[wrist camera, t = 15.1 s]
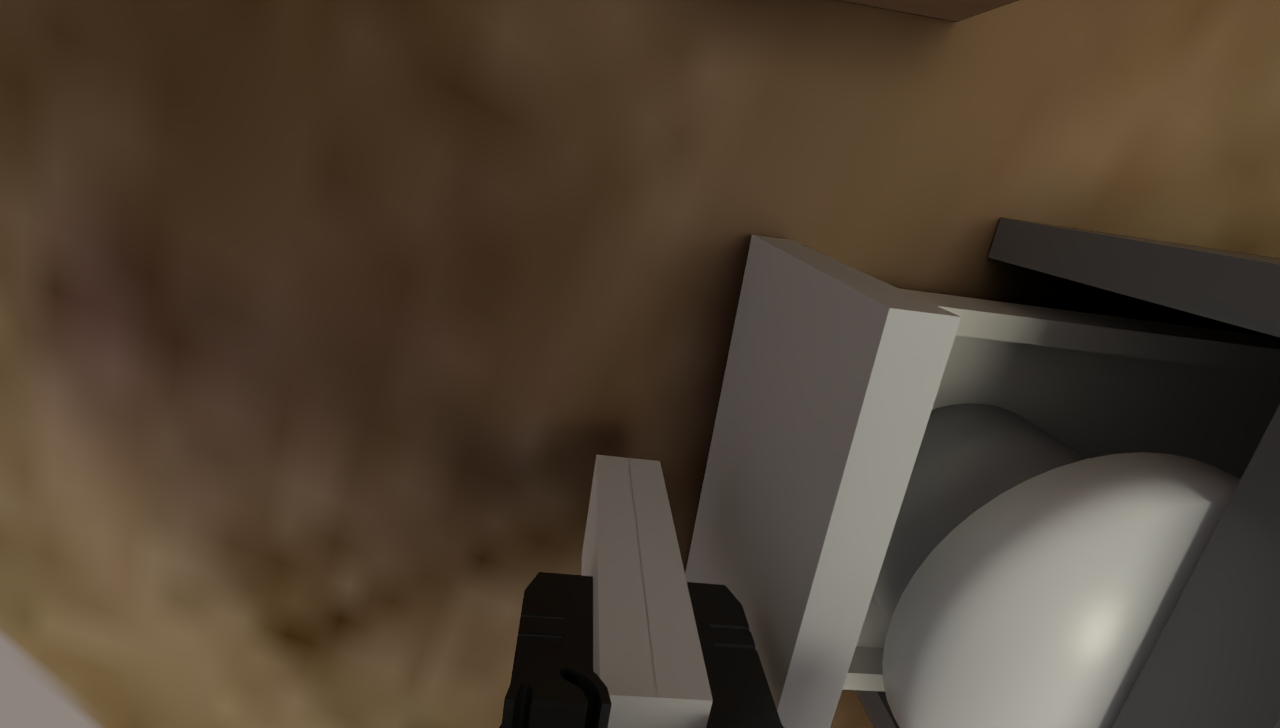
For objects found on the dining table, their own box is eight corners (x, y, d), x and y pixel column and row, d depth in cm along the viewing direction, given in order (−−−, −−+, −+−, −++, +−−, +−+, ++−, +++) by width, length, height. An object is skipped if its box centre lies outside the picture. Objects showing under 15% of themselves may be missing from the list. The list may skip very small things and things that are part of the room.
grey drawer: (751, 234, 15) (889, 307, 8) (1311, 310, 16) (1816, 423, 10) (670, 648, 19) (714, 932, 12) (1127, 673, 20) (1391, 933, 14)
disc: (961, 426, 10) (1024, 473, 9) (1359, 479, 11) (1476, 529, 10) (835, 771, 13) (867, 853, 11) (1169, 789, 14) (1240, 868, 12)
